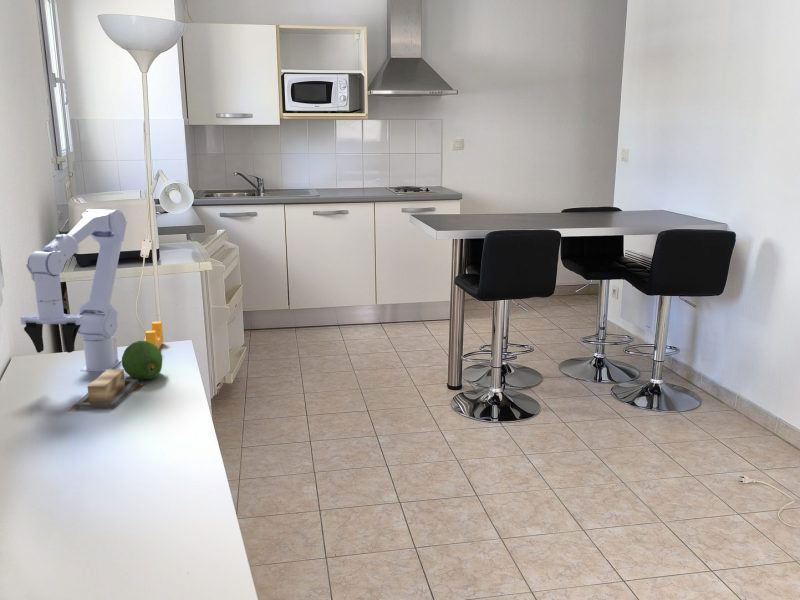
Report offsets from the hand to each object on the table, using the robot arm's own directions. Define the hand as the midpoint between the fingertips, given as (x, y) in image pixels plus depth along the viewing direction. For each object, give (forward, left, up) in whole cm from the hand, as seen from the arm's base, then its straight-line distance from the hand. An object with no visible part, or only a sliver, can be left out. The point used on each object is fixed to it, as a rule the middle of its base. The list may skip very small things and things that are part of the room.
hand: (55, 351), depth 182 cm
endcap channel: (+9, +16, -9) cm, 21 cm away
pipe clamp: (-34, +13, -10) cm, 37 cm away
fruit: (-6, +20, -10) cm, 23 cm away
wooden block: (+9, +16, -9) cm, 20 cm away
